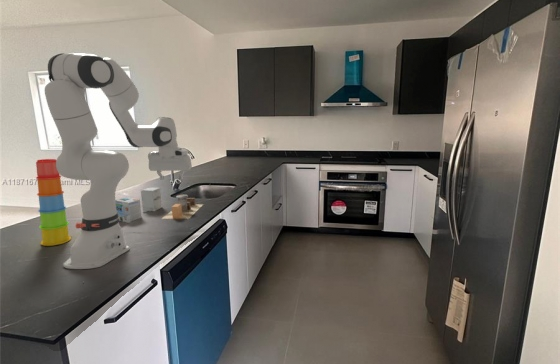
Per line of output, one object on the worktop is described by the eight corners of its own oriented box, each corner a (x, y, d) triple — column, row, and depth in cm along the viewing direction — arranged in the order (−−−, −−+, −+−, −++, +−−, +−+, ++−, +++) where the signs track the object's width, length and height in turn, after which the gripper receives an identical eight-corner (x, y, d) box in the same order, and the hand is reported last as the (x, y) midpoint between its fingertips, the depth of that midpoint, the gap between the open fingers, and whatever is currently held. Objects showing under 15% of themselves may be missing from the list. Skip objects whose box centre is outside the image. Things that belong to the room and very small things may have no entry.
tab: (178, 218, 150) (177, 206, 148) (172, 218, 150) (171, 206, 149) (182, 215, 155) (181, 203, 153) (176, 215, 155) (175, 204, 153)
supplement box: (154, 213, 162) (152, 190, 159) (142, 212, 164) (140, 190, 161) (162, 209, 169) (160, 187, 167) (150, 208, 171) (148, 187, 168)
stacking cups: (53, 237, 131) (38, 158, 124) (76, 236, 131) (63, 158, 124) (34, 246, 121) (17, 162, 114) (59, 246, 121) (44, 161, 114)
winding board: (188, 221, 149) (187, 202, 147) (161, 221, 149) (159, 202, 147) (203, 206, 174) (202, 189, 172) (180, 206, 175) (178, 189, 173)
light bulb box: (116, 220, 152) (114, 200, 149) (128, 216, 157) (126, 196, 155) (130, 223, 147) (128, 202, 144) (142, 219, 152) (140, 199, 150)
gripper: (144, 152, 142) (148, 181, 145) (187, 152, 141) (189, 180, 145) (150, 150, 148) (153, 178, 152) (191, 150, 148) (193, 177, 151)
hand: (171, 179), depth 148 cm, fingers open, 8 cm apart
